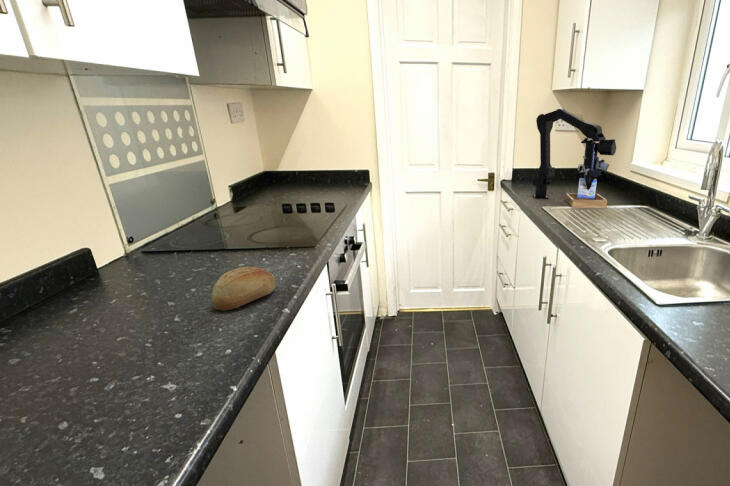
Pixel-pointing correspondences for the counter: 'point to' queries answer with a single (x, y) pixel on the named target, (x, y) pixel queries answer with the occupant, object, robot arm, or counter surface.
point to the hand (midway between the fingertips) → (587, 188)
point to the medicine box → (583, 189)
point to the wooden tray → (586, 201)
